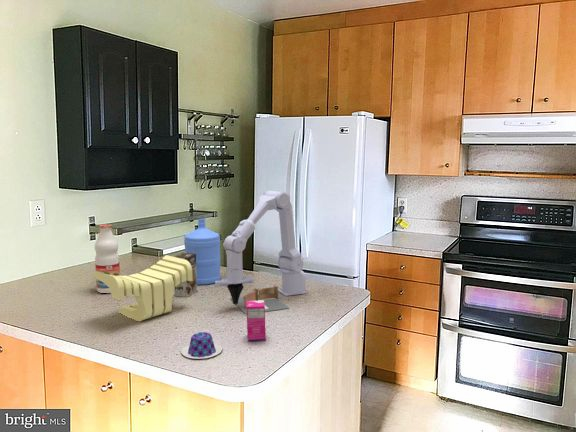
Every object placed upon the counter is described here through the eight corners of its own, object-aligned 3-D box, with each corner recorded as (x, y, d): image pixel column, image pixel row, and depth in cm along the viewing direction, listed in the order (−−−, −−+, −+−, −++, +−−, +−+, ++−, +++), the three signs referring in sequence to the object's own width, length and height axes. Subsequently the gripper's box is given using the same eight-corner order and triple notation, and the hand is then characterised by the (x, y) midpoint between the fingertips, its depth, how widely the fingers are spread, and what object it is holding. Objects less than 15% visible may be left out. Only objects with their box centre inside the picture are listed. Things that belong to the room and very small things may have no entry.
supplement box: (246, 334, 154) (246, 300, 152) (265, 334, 154) (265, 299, 152) (246, 341, 148) (246, 306, 146) (265, 341, 148) (265, 305, 147)
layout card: (270, 294, 195) (270, 293, 195) (289, 308, 178) (289, 307, 178) (230, 299, 189) (230, 298, 189) (245, 314, 171) (245, 313, 171)
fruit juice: (120, 286, 206) (116, 222, 202) (121, 292, 197) (118, 226, 193) (96, 289, 202) (92, 224, 198) (97, 295, 194) (93, 227, 190)
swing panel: (253, 300, 186) (252, 290, 185) (255, 300, 185) (255, 290, 185) (243, 307, 178) (243, 296, 177) (246, 307, 177) (246, 297, 177)
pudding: (172, 354, 140) (171, 337, 139) (201, 340, 149) (200, 324, 149) (202, 364, 133) (202, 347, 132) (230, 349, 143) (230, 333, 142)
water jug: (227, 279, 218) (226, 218, 214) (204, 287, 205) (202, 223, 201) (202, 274, 226) (200, 215, 222) (178, 282, 213) (176, 220, 209)
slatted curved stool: (121, 330, 157) (118, 278, 154) (96, 319, 167) (93, 270, 164) (193, 307, 180) (192, 261, 177) (167, 298, 190) (166, 255, 187)
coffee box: (188, 297, 192) (187, 258, 189) (174, 296, 193) (172, 257, 191) (197, 290, 200) (196, 253, 198) (183, 289, 202) (182, 252, 199)
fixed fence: (276, 297, 191) (276, 286, 190) (278, 299, 189) (278, 287, 189) (252, 300, 187) (252, 289, 186) (254, 302, 185) (254, 290, 185)
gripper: (249, 263, 182) (250, 297, 184) (212, 267, 177) (213, 302, 179) (256, 267, 176) (256, 303, 178) (217, 271, 170) (218, 308, 172)
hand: (235, 303), depth 178 cm, fingers closed
